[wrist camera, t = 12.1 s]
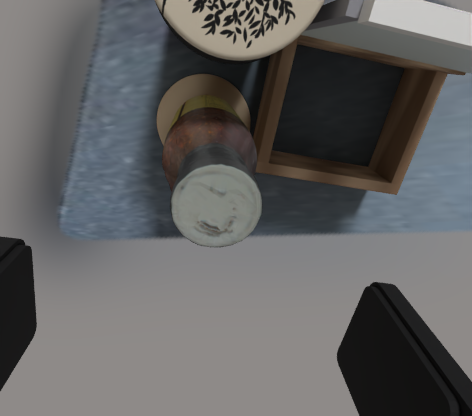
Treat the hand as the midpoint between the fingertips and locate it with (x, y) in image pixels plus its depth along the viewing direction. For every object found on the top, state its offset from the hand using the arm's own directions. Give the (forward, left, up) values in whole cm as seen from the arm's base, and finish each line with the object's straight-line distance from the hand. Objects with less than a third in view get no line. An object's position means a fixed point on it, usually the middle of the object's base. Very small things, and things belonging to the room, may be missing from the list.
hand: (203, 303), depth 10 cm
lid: (-12, -9, -26) cm, 30 cm away
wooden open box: (-12, -3, -26) cm, 29 cm away
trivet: (0, 0, -26) cm, 26 cm away
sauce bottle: (0, 0, -26) cm, 26 cm away
